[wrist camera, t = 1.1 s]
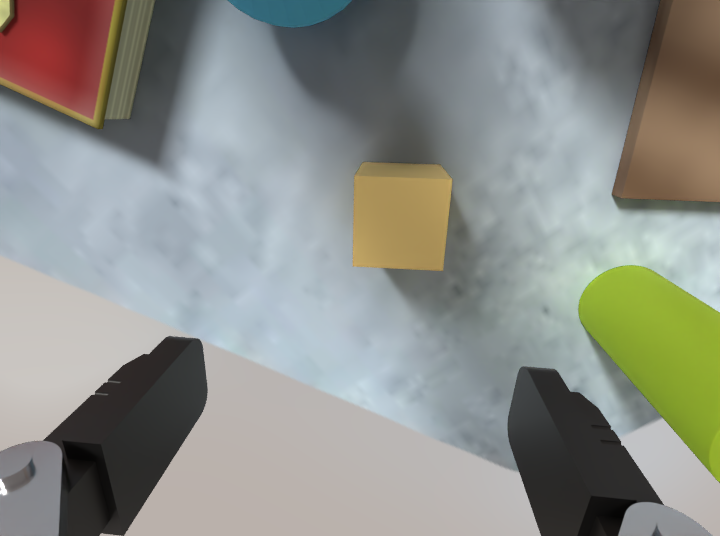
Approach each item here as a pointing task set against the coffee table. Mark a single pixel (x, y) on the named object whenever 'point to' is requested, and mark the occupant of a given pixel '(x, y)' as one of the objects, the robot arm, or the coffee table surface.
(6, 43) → the hardcover book
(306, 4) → the perfume bottle
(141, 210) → the coffee table surface
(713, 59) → the post board
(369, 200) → the tan wooden block
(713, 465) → the soap dispenser
